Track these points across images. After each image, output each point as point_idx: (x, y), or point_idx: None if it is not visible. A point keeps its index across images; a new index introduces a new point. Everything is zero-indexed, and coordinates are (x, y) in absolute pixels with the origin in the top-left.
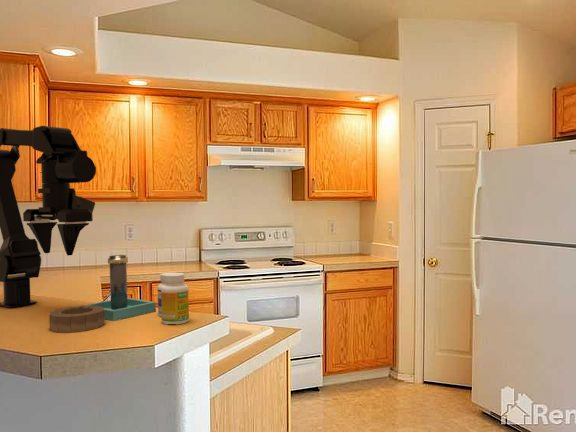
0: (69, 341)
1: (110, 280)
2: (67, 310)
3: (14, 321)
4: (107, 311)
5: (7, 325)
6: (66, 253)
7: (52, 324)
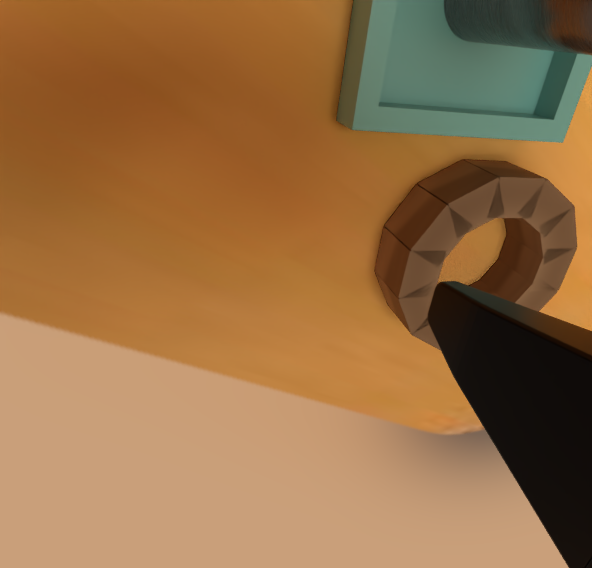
0: None
1: (578, 51)
2: (436, 276)
3: (191, 336)
4: (526, 139)
5: (232, 369)
6: (436, 335)
7: None
